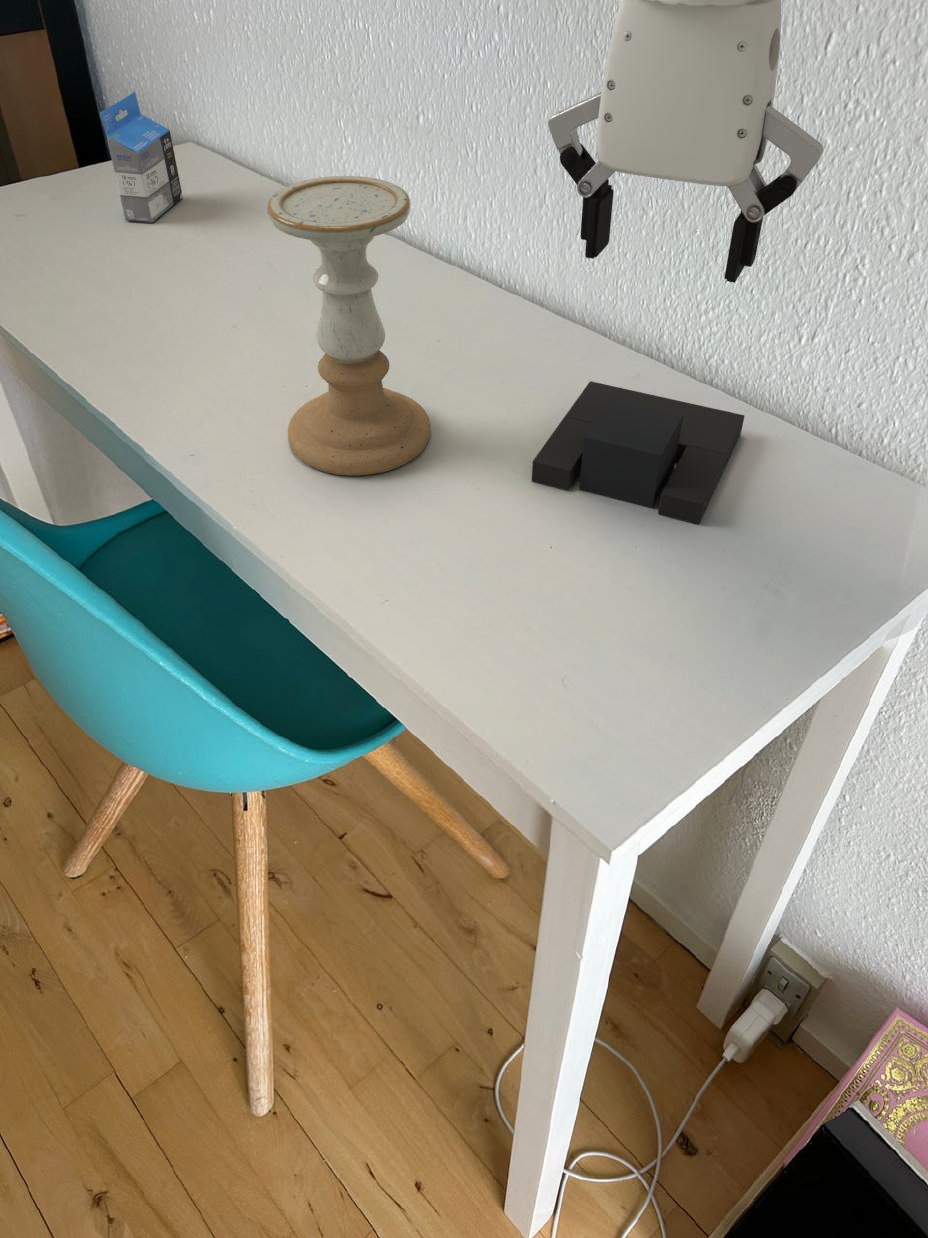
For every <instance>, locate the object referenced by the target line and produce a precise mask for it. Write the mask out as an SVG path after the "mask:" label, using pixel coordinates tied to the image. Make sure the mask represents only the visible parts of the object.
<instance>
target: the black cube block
mask: <svg viewBox="0 0 928 1238" xmlns="http://www.w3.org/2000/svg"><path fill="white" fill-rule="evenodd" d="M682 420H683V416H682V415H677V414H673V413H668V412H664V411H660V410H655V409H651V408H646V407H642V406H638V405H633V404H629V403H624V402H620V401H616V400H611V399H609V401H608V402H607V404H606V405H605V407H604V408H603V410H602V411H601V413H600V414H599V416H598V417H597V419H596V420H595V422H594V423H593V425H592V426H591V428H590V429H589V431H588V432H587V434H586V435H585V437H584V444H583V455H582V465H581V473H580V474H579V477H580V478H579V488H578V489H579V490H581V491H585V492H589V493H593V494H596V495H599V496H605V497H608V498H613V499H616V500H619V501H624V502H628V503H632V504H635V505H639V506H643V507H647V508H651V509H653V508H654V506H655V505H656V503H657V501H658V499H659V497H660V496H661V494H662V492H663V490H664V488H665V486H666V484H667V482H668V480H669V479H670V477H671V475H672V473H673V471H674V469H675V467H676V463H675V460H676V455H677V449H678V443H679V438H680V432H681V426H682Z"/></svg>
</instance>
